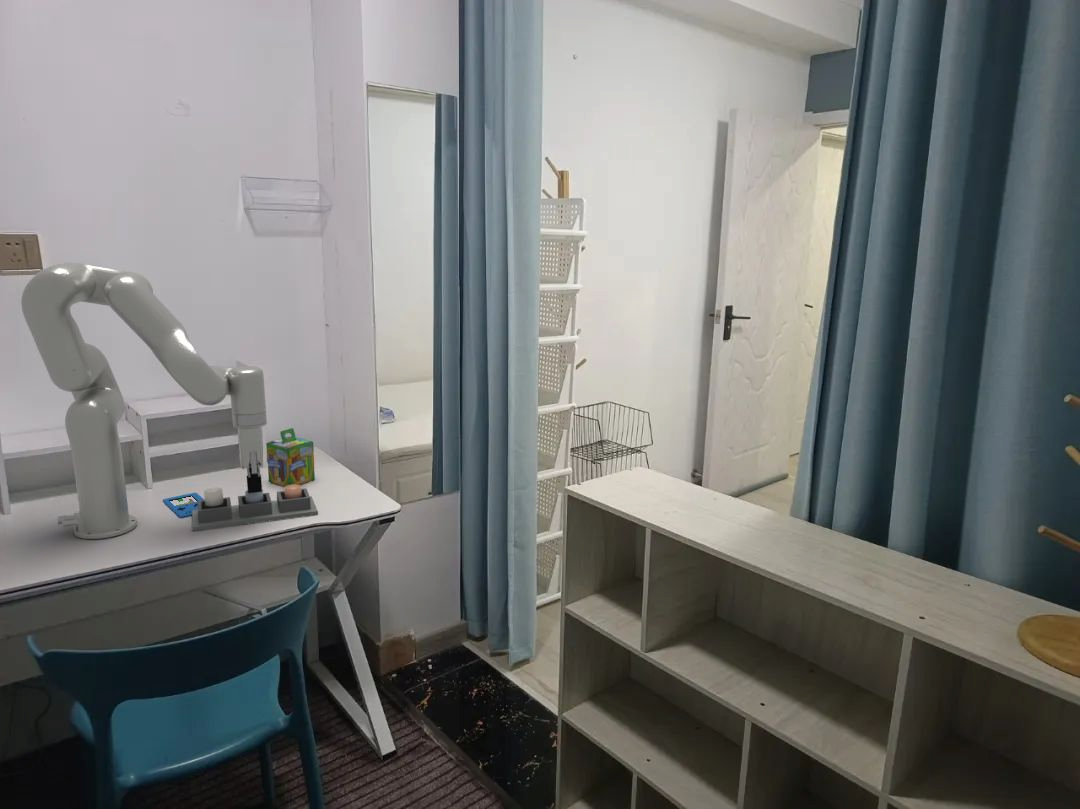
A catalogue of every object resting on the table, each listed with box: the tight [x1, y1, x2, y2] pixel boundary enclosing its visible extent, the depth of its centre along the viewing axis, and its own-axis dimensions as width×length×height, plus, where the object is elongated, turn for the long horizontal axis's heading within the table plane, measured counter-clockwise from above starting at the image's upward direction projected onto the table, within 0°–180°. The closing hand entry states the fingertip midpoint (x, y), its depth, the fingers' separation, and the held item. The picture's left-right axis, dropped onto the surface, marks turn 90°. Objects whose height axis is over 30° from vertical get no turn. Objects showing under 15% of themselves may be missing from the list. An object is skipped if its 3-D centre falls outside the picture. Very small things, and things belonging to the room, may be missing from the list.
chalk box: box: [265, 427, 316, 487], centre depth 199 cm, size 9×9×15 cm
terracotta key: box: [283, 484, 302, 500], centre depth 180 cm, size 4×4×3 cm
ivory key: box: [203, 487, 224, 506], centre depth 172 cm, size 4×4×3 cm
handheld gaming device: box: [162, 492, 205, 519], centre depth 181 cm, size 8×1×15 cm
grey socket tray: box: [191, 487, 319, 532], centre depth 176 cm, size 28×11×4 cm, turn 115°
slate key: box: [244, 489, 264, 504], centre depth 176 cm, size 4×4×3 cm
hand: (254, 491), depth 176 cm, fingers closed
